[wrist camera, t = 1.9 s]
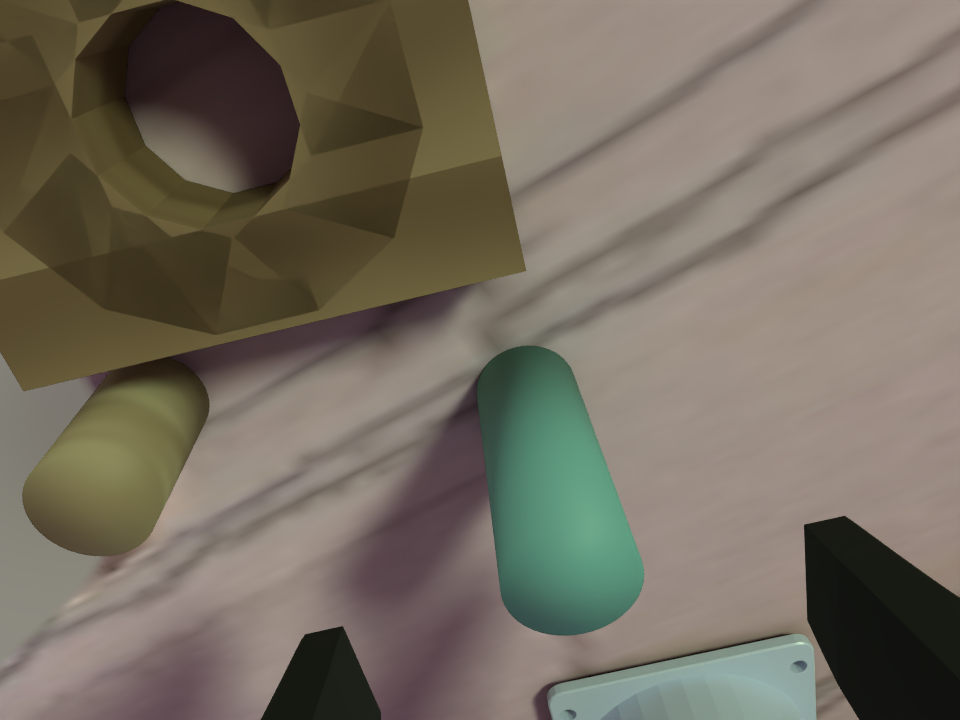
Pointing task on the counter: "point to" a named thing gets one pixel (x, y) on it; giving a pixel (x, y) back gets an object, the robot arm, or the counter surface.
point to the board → (246, 214)
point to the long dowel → (552, 499)
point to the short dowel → (118, 459)
